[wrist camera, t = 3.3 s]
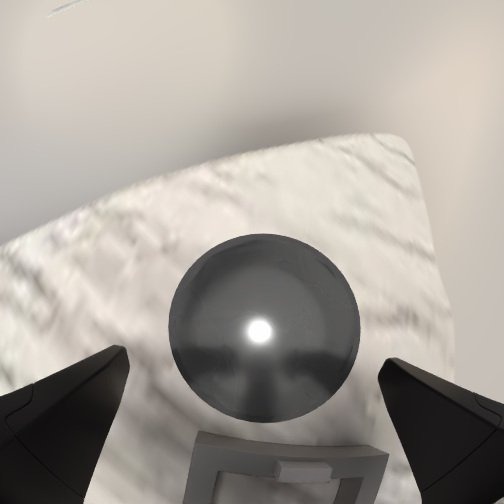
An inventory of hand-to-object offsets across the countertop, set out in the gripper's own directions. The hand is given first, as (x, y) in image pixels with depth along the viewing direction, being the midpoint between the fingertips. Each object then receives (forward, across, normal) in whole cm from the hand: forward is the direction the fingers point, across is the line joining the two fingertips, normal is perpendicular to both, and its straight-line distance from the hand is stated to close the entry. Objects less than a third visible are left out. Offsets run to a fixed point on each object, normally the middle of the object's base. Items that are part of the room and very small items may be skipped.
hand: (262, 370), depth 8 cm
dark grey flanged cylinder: (+8, 0, -6) cm, 10 cm away
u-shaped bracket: (-2, +3, -15) cm, 16 cm away
